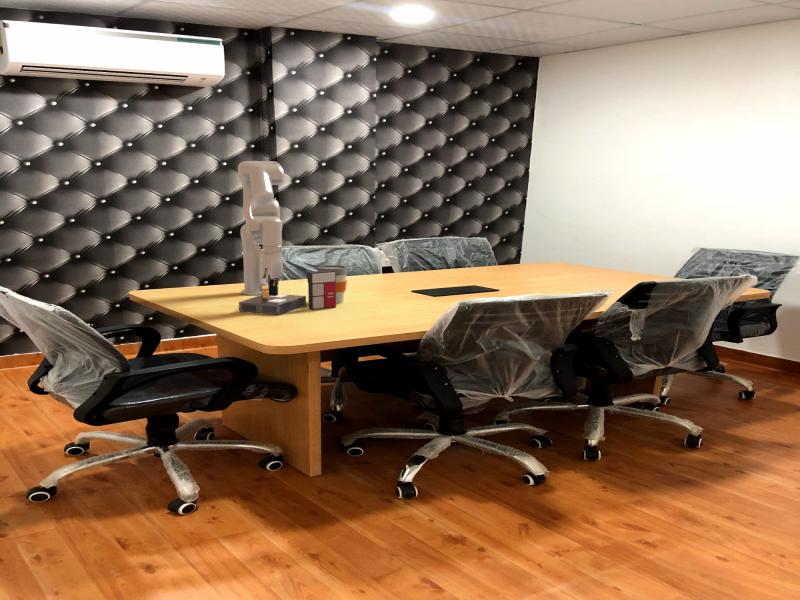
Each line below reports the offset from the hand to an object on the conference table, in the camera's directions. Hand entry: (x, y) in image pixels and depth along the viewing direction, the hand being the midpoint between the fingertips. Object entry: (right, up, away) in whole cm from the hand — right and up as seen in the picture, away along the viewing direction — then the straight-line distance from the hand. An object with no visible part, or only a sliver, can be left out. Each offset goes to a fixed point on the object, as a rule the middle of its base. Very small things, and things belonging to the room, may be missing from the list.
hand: (273, 295), depth 293 cm
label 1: (+1, 0, +8) cm, 8 cm away
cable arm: (-4, +1, +3) cm, 5 cm away
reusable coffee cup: (+22, -3, +18) cm, 29 cm away
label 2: (+2, -2, -3) cm, 4 cm away
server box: (-1, -5, +3) cm, 6 cm away
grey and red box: (+19, -5, +4) cm, 20 cm away
